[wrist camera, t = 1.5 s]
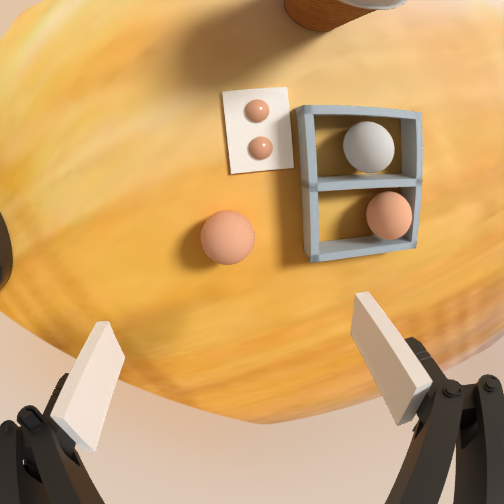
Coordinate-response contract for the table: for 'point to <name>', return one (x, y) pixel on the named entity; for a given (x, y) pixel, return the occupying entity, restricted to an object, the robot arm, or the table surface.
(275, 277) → the table surface
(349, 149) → the ball grey
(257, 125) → the tile
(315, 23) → the disposable coffee cup
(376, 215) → the terracotta ball
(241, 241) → the terracotta ball
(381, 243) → the rack
